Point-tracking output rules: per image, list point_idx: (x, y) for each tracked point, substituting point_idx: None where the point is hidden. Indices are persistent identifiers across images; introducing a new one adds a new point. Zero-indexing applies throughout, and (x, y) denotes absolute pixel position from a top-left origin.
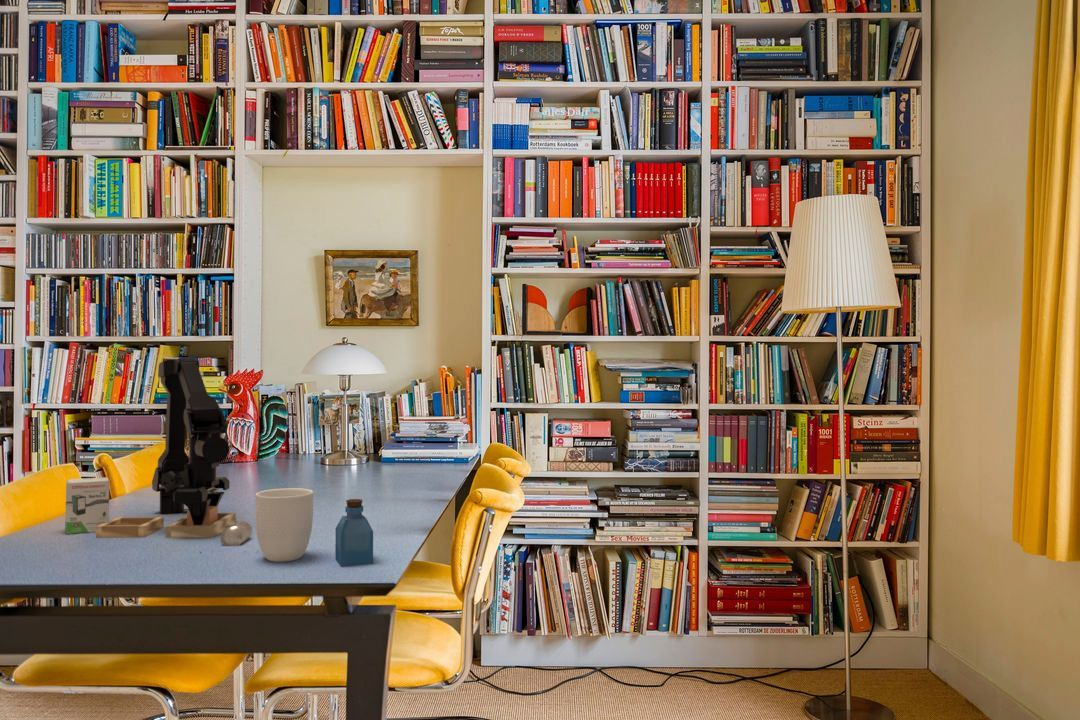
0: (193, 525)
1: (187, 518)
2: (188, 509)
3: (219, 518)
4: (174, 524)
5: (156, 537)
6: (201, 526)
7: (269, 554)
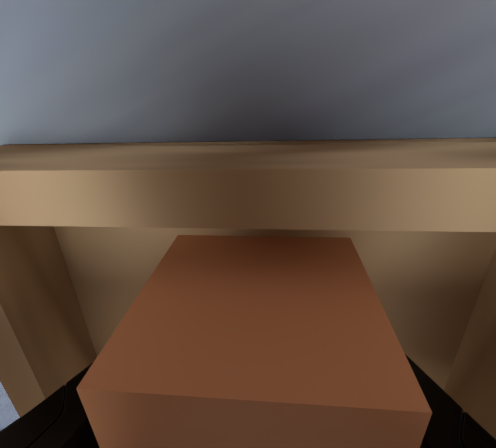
0: (21, 366)
1: (132, 308)
2: (128, 392)
3: (483, 387)
4: (2, 218)
5: (74, 8)
6: (18, 410)
7: None
